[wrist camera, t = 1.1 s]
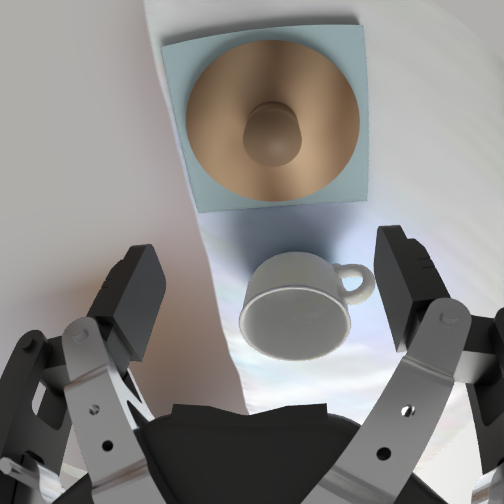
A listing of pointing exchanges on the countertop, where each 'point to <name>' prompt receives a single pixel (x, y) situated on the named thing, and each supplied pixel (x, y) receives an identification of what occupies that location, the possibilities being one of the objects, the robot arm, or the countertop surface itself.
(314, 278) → the teacup
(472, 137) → the countertop surface
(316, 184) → the lid
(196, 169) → the mat
